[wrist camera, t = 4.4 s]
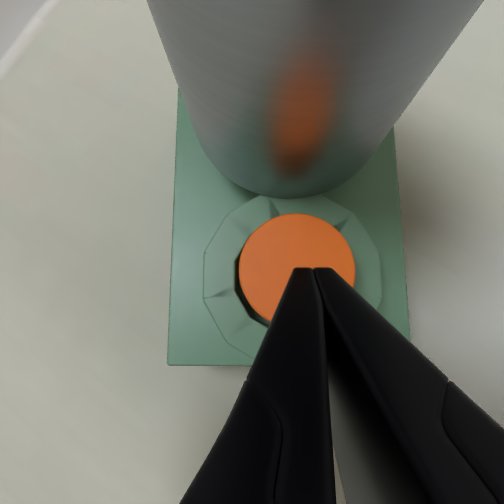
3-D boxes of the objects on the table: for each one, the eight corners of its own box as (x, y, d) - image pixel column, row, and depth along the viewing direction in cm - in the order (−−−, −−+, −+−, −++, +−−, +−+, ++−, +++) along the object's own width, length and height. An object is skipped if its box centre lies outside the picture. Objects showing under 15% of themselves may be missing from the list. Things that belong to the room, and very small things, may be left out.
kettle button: (340, 325, 12) (359, 328, 10) (242, 325, 12) (237, 329, 10) (336, 229, 13) (352, 211, 10) (242, 230, 13) (239, 212, 11)
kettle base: (375, 352, 18) (440, 376, 11) (189, 352, 18) (150, 375, 12) (360, 113, 20) (407, 22, 14) (196, 115, 20) (167, 27, 14)
